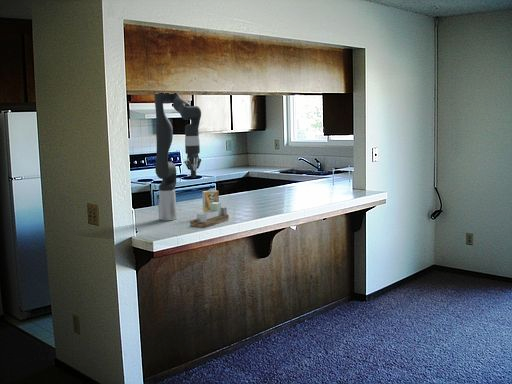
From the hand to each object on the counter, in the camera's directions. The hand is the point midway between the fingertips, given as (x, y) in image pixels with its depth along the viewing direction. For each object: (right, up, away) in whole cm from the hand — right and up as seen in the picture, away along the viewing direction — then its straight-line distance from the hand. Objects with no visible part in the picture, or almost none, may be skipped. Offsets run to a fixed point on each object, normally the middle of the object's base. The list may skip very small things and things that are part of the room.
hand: (193, 177), depth 320 cm
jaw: (+6, -24, +14) cm, 28 cm away
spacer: (+10, -23, +21) cm, 33 cm away
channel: (+7, -25, +16) cm, 30 cm away
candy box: (+7, -22, +34) cm, 42 cm away
